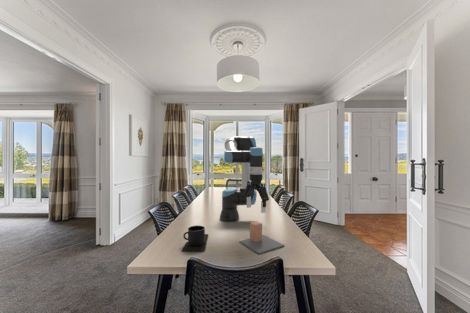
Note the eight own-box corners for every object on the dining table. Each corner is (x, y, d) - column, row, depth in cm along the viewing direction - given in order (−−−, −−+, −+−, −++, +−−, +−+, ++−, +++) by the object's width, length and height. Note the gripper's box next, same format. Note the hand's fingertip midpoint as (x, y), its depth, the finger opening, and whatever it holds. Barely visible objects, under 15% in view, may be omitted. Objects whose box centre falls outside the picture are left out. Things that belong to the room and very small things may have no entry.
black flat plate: (176, 253, 118) (204, 252, 119) (175, 252, 118) (204, 250, 119) (185, 235, 143) (208, 234, 144) (184, 234, 143) (208, 233, 144)
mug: (184, 240, 133) (184, 225, 133) (205, 240, 134) (205, 225, 134) (182, 247, 124) (182, 231, 123) (204, 247, 124) (204, 230, 124)
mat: (239, 242, 131) (239, 240, 131) (263, 236, 141) (263, 234, 141) (259, 254, 116) (259, 252, 116) (284, 246, 126) (284, 244, 126)
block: (249, 239, 133) (250, 222, 133) (256, 237, 136) (256, 221, 136) (255, 242, 129) (255, 225, 129) (261, 240, 132) (262, 223, 132)
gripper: (238, 172, 140) (238, 206, 141) (265, 176, 119) (264, 216, 120) (248, 171, 144) (248, 204, 145) (275, 175, 124) (275, 213, 124)
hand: (255, 209), depth 133 cm, fingers open, 13 cm apart
